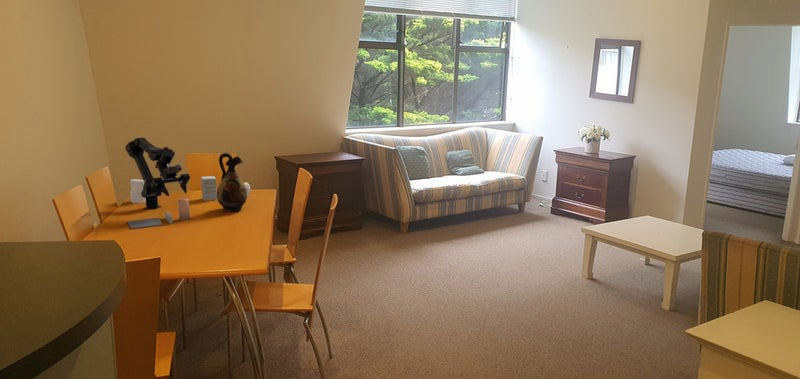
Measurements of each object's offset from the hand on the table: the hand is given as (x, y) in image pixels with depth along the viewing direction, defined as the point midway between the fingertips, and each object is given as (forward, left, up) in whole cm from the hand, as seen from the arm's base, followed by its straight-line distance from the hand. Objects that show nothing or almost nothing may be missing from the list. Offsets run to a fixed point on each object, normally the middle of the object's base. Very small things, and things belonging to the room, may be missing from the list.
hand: (177, 194), depth 294 cm
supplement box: (-40, -3, -12) cm, 42 cm away
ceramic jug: (-20, +19, -12) cm, 30 cm away
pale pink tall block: (+3, +5, -12) cm, 13 cm away
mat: (+15, -9, -12) cm, 21 cm away
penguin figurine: (-47, +12, -12) cm, 50 cm away
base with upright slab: (-27, -38, -12) cm, 49 cm away
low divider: (+8, -1, -12) cm, 14 cm away
